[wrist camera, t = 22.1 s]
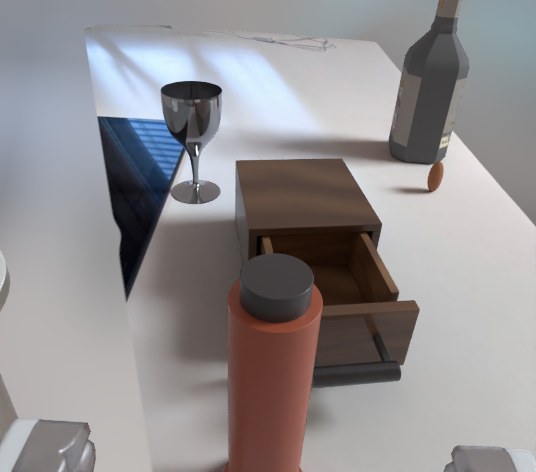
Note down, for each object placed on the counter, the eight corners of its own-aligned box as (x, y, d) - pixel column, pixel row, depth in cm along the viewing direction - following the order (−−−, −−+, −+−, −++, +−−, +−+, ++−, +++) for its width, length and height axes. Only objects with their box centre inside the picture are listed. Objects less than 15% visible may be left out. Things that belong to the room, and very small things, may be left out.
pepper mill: (224, 540, 32) (220, 320, 21) (219, 458, 36) (214, 243, 25) (309, 529, 33) (351, 312, 21) (294, 450, 37) (321, 238, 26)
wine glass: (232, 186, 73) (232, 87, 64) (206, 210, 66) (203, 104, 58) (187, 174, 75) (181, 77, 67) (157, 197, 69) (147, 93, 61)
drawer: (423, 406, 40) (443, 349, 36) (275, 420, 38) (279, 362, 35) (357, 267, 56) (366, 217, 52) (250, 273, 54) (251, 221, 50)
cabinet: (368, 289, 54) (382, 223, 49) (247, 296, 52) (248, 229, 47) (333, 215, 67) (342, 158, 62) (235, 219, 65) (235, 160, 60)
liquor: (391, 161, 82) (433, -39, 66) (386, 140, 90) (422, -44, 73) (445, 166, 82) (501, -35, 65) (436, 145, 89) (483, -40, 73)
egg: (438, 195, 73) (447, 165, 70) (425, 193, 73) (433, 163, 71) (437, 188, 75) (445, 159, 72) (424, 187, 75) (431, 158, 72)
